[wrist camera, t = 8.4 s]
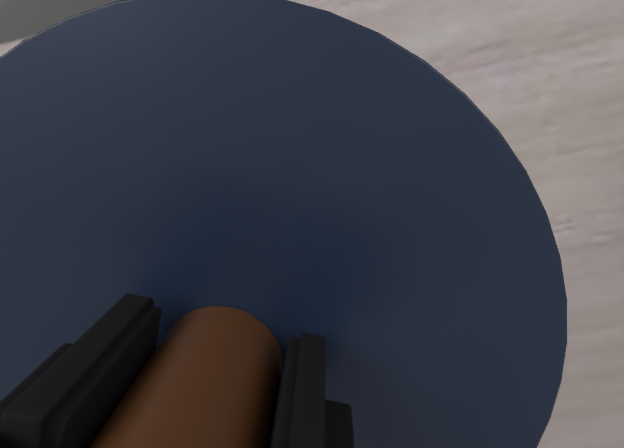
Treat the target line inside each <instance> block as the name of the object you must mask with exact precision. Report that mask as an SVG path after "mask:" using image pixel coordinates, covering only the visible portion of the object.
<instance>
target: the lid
mask: <svg viewBox="0 0 624 448" xmlns="http://www.w3.org/2000/svg"><path fill="white" fill-rule="evenodd" d="M126 293H131V294H136V295H140V296H145V297H149V298H153V299H154V306H159V307H161V318H160V325H159V331H158V338H157V344H156V350H155V352H154V353H153V355H152V356H151V358H150V359H149V360H148V362H147V363H146V365H145V366H144V368H143V369H142V371H141V372H140V373H139V375H138V376H137V378H136V379H135V381H134V382H133V384H132V385H131V387H130V388H129V389H128V391H127V392H126V394H125V395H124V397H123V398H122V400H121V401H120V402H119V404H118V405H117V407H116V408H115V410H114V411H113V413H112V414H111V416H110V417H109V418H108V420H107V421H106V423H105V424H104V426H103V427H102V429H101V430H100V432H99V433H98V434H97V436H96V437H95V439H94V440H93V442H92V443H91V445H90V446H89V447H88V448H268V447H269V441H270V435H271V429H272V423H273V417H274V412H275V406H276V400H277V394H278V388H279V382H280V378H281V373H282V369H283V365H284V361H285V357H286V353H287V349H288V344H289V340H290V337H291V336H294V337H299V338H300V334H301V331H302V332H306V333H311V334H315V335H320V336H324V337H325V338H326V346H325V399H328V400H332V401H337V402H341V403H346V404H350V406H351V410H352V421H353V434H354V447H355V448H537V446H538V444H539V441H540V439H541V437H542V435H543V433H544V431H545V428H546V426H547V424H548V422H549V420H550V417H551V414H552V410H553V407H554V404H555V400H556V397H557V393H558V390H559V387H560V383H561V379H562V372H563V365H564V358H565V351H566V344H567V298H566V291H565V285H564V278H563V272H562V265H561V259H560V254H559V251H558V248H557V245H556V241H555V238H554V235H553V232H552V229H551V225H550V222H549V219H548V216H547V213H546V211H545V209H544V207H543V205H542V202H541V200H540V198H539V196H538V194H537V192H536V190H535V188H534V186H533V184H532V182H531V180H530V178H529V176H528V174H527V171H526V170H525V168H524V167H523V165H522V164H521V162H520V161H519V160H518V158H517V157H516V155H515V154H514V152H513V151H512V149H511V148H510V146H509V145H508V143H507V142H506V140H505V139H504V137H503V136H502V135H501V133H500V132H499V130H498V129H497V128H496V127H495V126H494V125H493V124H492V123H491V122H490V120H489V119H488V118H487V117H486V116H485V115H484V114H483V113H482V112H481V111H480V110H479V108H478V107H477V106H476V105H475V104H474V103H473V102H472V101H471V100H470V99H469V98H468V96H467V95H466V94H465V93H464V92H462V91H461V90H460V89H459V88H457V87H456V86H455V85H454V84H453V83H451V82H450V81H449V80H448V79H446V78H445V77H444V76H443V75H442V74H440V73H439V72H438V71H437V70H435V69H434V68H433V67H432V66H431V65H429V64H428V63H427V62H426V61H424V60H423V59H421V58H420V57H418V56H416V55H415V54H413V53H411V52H410V51H408V50H406V49H405V48H403V47H401V46H400V45H398V44H396V43H395V42H393V41H391V40H390V39H388V38H386V37H385V36H383V35H381V34H380V33H378V32H376V31H373V30H371V29H369V28H366V27H364V26H361V25H359V24H357V23H354V22H352V21H350V20H347V19H345V18H343V17H340V16H338V15H336V14H333V13H331V12H328V11H325V10H321V9H317V8H314V7H310V6H306V5H302V4H299V3H295V2H291V1H287V0H122V1H116V2H113V3H110V4H107V5H104V6H101V7H98V8H95V9H92V10H89V11H86V12H83V13H80V14H77V15H74V16H71V17H68V18H66V19H64V20H62V21H60V22H58V23H56V24H54V25H52V26H51V27H49V28H47V29H45V30H43V31H41V32H39V33H37V34H35V35H33V36H31V37H29V38H27V39H25V40H23V41H22V42H21V43H19V44H18V45H17V46H15V47H14V48H12V49H11V50H10V51H8V52H7V53H6V54H4V55H3V56H1V57H0V401H2V400H3V399H4V398H5V397H6V396H7V395H8V394H9V393H10V392H11V391H12V390H13V389H15V388H16V387H17V386H18V385H19V384H20V383H21V382H22V381H23V380H24V379H25V378H27V377H28V376H29V375H30V374H31V373H32V372H33V371H34V370H35V369H36V368H37V367H38V366H40V365H41V364H42V363H43V362H44V361H45V360H46V359H47V358H48V357H49V356H50V355H52V354H53V353H54V352H55V351H56V350H57V349H58V348H59V347H61V346H62V345H63V344H65V343H72V344H74V343H75V342H76V341H77V340H78V339H79V338H80V337H81V336H82V335H83V334H84V333H85V332H86V331H87V330H88V329H89V328H90V327H91V326H93V325H94V324H95V323H96V322H97V321H98V320H99V319H100V318H101V317H102V316H103V315H104V314H105V313H106V312H107V311H108V310H109V309H110V308H111V307H112V306H113V305H114V304H116V303H117V302H118V301H119V300H120V299H121V298H122V297H123V296H124V295H125V294H126Z"/></svg>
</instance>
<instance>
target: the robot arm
mask: <svg viewBox="0 0 624 448" xmlns="http://www.w3.org/2000/svg"><path fill="white" fill-rule="evenodd" d="M160 318H161V307H159V306H154V299H153V298H149V297H145V296H140V295H136V294H131V293H126V294H125V295H124V296H123V297H122V298H121V299H120V300H119V301H118V302H117V303H116V304H114V305H113V306H112V307H111V308H110V309H109V310H108V311H107V312H106V313H105V314H104V315H103V316H102V317H101V318H100V319H99V320H98V321H97V322H96V323H95V324H94V325H93V326H91V327H90V328H89V329H88V330H87V331H86V332H85V333H84V334H83V335H82V336H81V337H80V338H79V339H78V340H77V341H76V342H75V343H74V344H72V343H65V344H63V345H62V346H61V347H59V348H58V349H57V350H56V351H55V352H54V353H53V354H52V355H50V356H49V357H48V358H47V359H46V360H45V361H44V362H43V363H42V364H41V365H40V366H38V367H37V368H36V369H35V370H34V371H33V372H32V373H31V374H30V375H29V376H28V377H27V378H25V379H24V380H23V381H22V382H21V383H20V384H19V385H18V386H17V387H16V388H15V389H13V390H12V391H11V392H10V393H9V394H8V395H7V396H6V397H5V398H4V399H3V400H2V401H0V448H88V447H89V446H90V445H91V443H92V442H93V440H94V439H95V437H96V436H97V434H98V433H99V432H100V430H101V429H102V427H103V426H104V424H105V423H106V421H107V420H108V418H109V417H110V416H111V414H112V413H113V411H114V410H115V408H116V407H117V405H118V404H119V402H120V401H121V400H122V398H123V397H124V395H125V394H126V392H127V391H128V389H129V388H130V387H131V385H132V384H133V382H134V381H135V379H136V378H137V376H138V375H139V373H140V372H141V371H142V369H143V368H144V366H145V365H146V363H147V362H148V360H149V359H150V358H151V356H152V355H153V353H154V352H155V350H156V344H157V338H158V331H159V325H160ZM325 346H326V338H325V337H324V336H320V335H315V334H311V333H306V332H302V331H301V334H300V338H299V337H294V336H291V337H290V340H289V344H288V349H287V353H286V357H285V361H284V365H283V369H282V373H281V378H280V382H279V388H278V394H277V400H276V406H275V412H274V417H273V423H272V429H271V435H270V441H269V447H268V448H355V447H354V434H353V421H352V410H351V406H350V404H346V403H341V402H337V401H332V400H328V399H325Z"/></svg>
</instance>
